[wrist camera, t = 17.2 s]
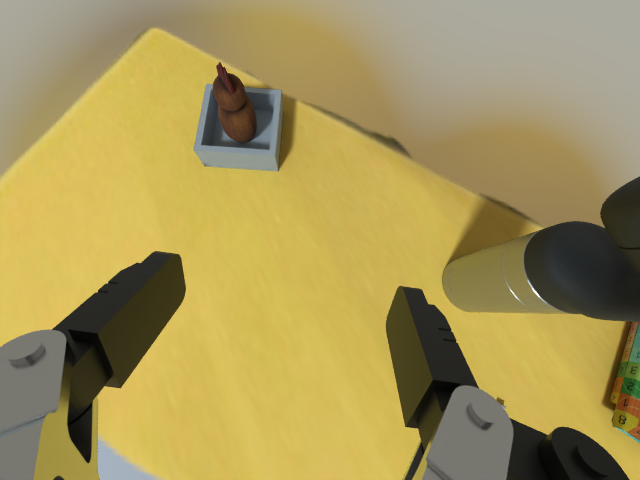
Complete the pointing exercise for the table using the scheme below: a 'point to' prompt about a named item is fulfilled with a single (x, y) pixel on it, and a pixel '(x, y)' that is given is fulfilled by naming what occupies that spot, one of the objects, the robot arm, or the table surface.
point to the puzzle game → (628, 387)
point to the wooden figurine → (234, 107)
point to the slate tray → (232, 154)
